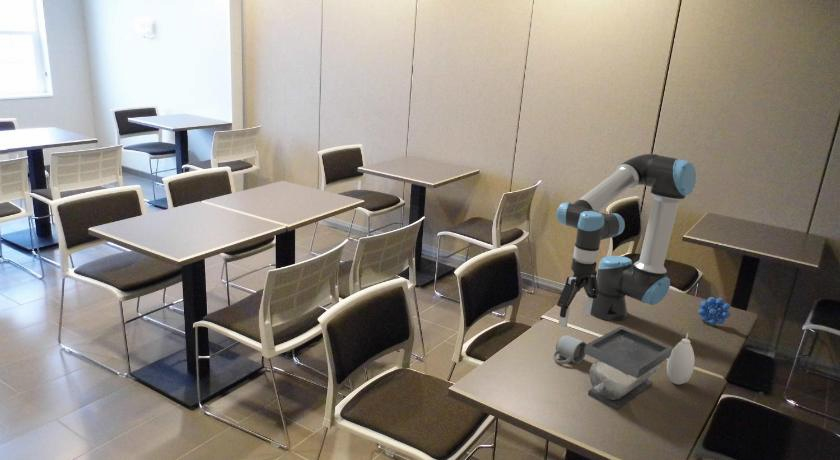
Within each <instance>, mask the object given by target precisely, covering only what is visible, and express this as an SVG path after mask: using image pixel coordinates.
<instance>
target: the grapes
mask: <svg viewBox="0 0 840 460" xmlns="http://www.w3.org/2000/svg"><path fill="white" fill-rule="evenodd" d="M699 305H700V308H699V309H698V311H697V313H698V314H699V316H701V318H700V319H701V321H702V322H703V323H707V322H708V324H709V325H710V326H715V325H717V324H719V325H722V324H723V325H724V323H725V322H726V319H729V318H730V316H731V313H730V311H729V310H730V308H731V305H730V304H729V303H726V302H725V300H724V298H721V297H718V298H715V297H713V296H710V297H708V298H707V300H704V301H701V302H700V304H699Z"/></svg>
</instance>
